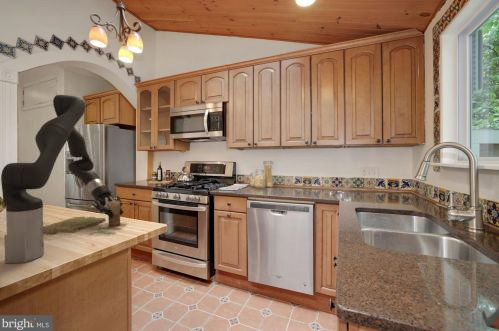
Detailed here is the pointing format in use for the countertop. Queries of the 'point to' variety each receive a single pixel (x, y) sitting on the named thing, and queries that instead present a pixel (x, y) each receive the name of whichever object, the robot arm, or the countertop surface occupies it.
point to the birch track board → (107, 230)
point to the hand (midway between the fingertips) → (117, 215)
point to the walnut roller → (115, 209)
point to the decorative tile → (72, 225)
